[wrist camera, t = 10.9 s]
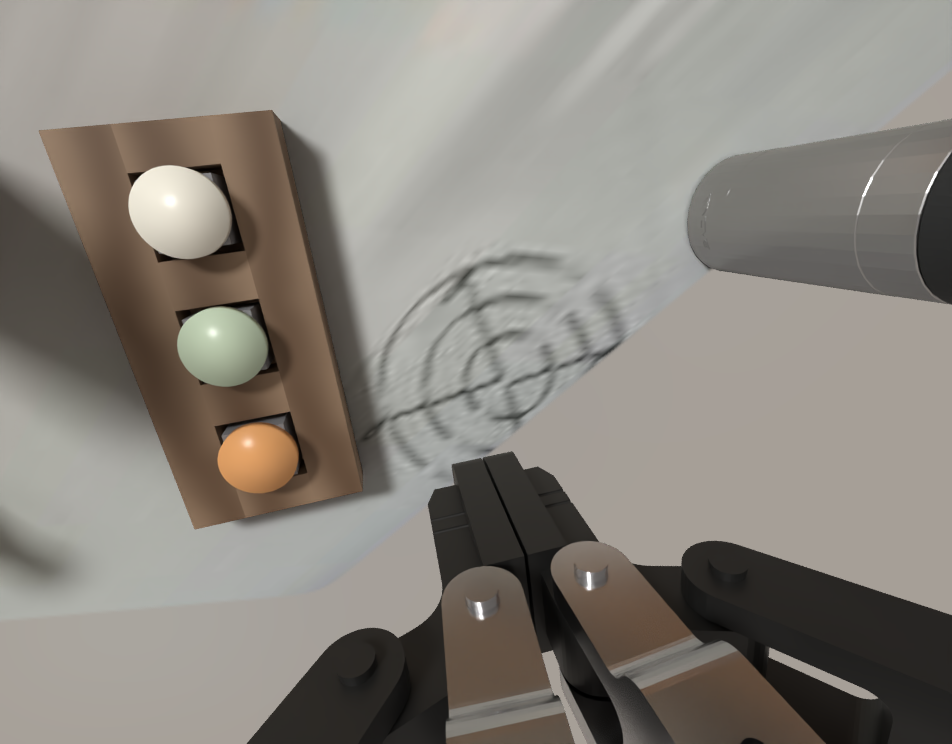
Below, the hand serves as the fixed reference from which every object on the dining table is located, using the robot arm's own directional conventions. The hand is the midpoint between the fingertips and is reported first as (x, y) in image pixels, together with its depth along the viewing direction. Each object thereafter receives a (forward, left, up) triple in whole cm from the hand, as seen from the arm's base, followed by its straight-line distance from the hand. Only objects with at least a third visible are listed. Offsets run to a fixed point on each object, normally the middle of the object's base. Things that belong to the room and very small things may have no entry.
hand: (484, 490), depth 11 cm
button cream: (+12, -8, -25) cm, 29 cm away
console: (+12, 0, -26) cm, 28 cm away
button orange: (+12, +8, -25) cm, 29 cm away
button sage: (+12, 0, -25) cm, 28 cm away
